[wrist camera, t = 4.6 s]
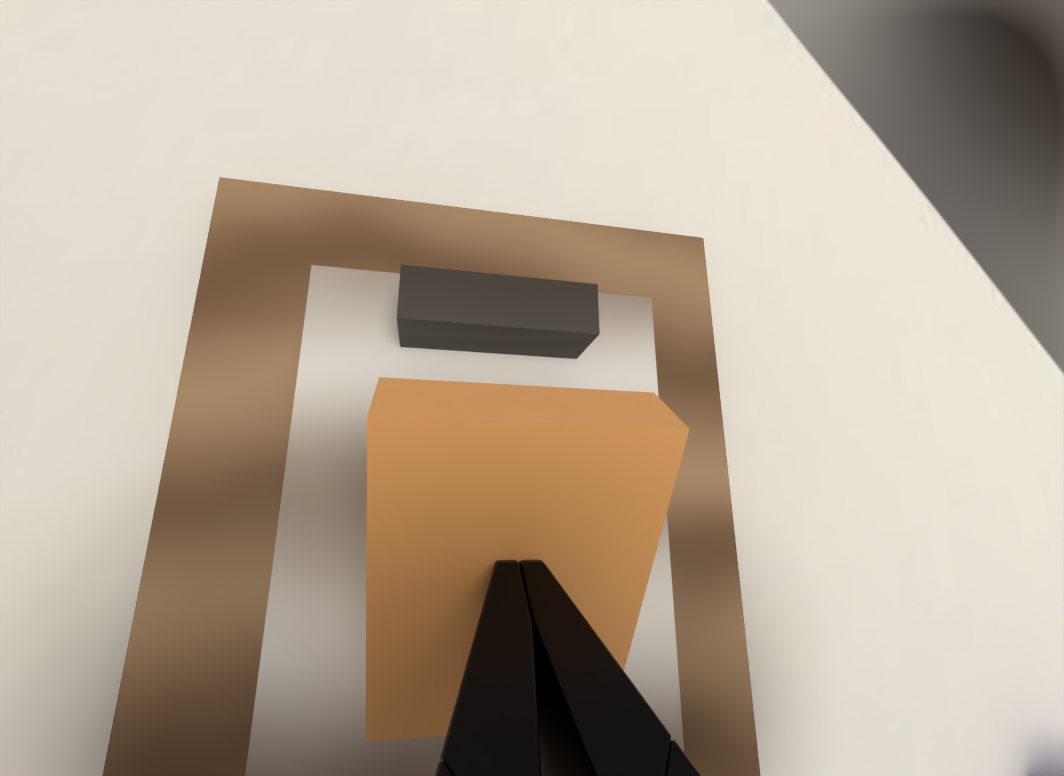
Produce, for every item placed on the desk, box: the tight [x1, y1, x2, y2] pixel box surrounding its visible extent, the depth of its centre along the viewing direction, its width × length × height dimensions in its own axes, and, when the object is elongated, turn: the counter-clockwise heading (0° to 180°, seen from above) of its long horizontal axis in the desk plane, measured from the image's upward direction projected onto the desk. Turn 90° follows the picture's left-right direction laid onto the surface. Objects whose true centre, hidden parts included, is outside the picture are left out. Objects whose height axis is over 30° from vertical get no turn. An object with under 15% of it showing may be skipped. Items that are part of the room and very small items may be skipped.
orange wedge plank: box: [366, 377, 689, 742], centre depth 10 cm, size 7×5×2 cm
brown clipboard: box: [103, 177, 760, 776], centre depth 14 cm, size 22×18×6 cm
